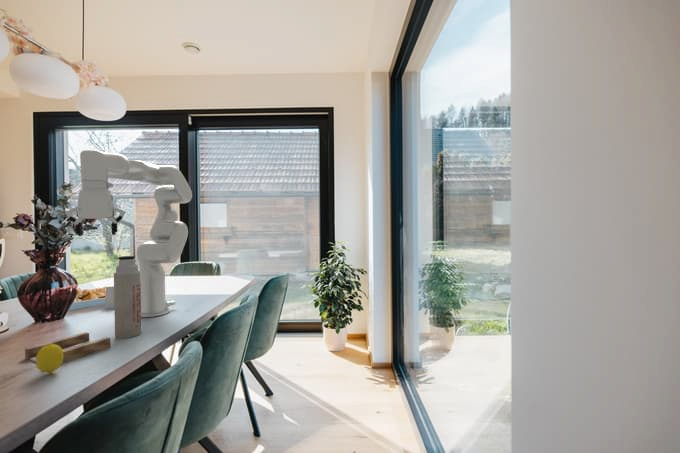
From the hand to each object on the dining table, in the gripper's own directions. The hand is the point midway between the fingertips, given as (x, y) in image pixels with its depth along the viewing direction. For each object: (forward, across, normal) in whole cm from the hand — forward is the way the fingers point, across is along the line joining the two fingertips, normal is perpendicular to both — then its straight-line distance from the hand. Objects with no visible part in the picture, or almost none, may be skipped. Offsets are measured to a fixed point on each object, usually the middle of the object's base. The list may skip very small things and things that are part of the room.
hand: (97, 235), depth 118 cm
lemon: (+35, +6, +31) cm, 47 cm away
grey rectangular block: (+37, +3, -45) cm, 58 cm away
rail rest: (+35, +6, +16) cm, 39 cm away
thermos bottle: (+36, -8, +5) cm, 37 cm away
